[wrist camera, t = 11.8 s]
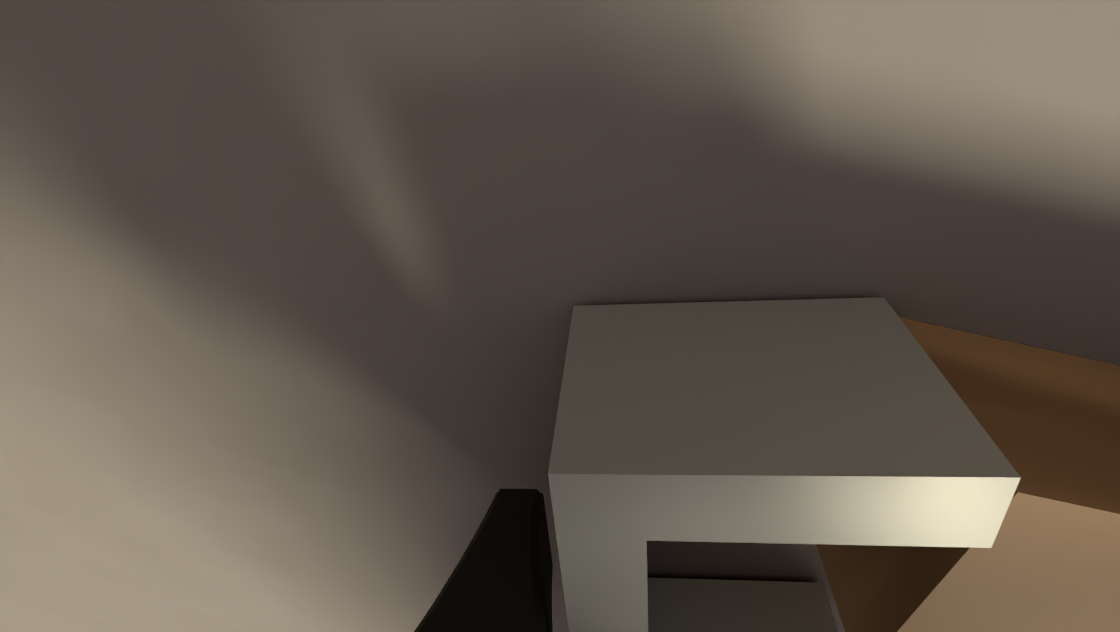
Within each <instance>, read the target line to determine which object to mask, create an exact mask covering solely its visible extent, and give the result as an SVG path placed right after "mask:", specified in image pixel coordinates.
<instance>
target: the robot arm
mask: <svg viewBox="0 0 1120 632" xmlns="http://www.w3.org/2000/svg"><path fill="white" fill-rule="evenodd" d="M552 568H553V564H552V556H551V549H550V542H549V534H548V527H547V520H546V512H545V505H544V497H543V494H542V493H540V492H539V491H538V489H500V490H499V492H498V493H496V495H495V497H494V499H493V501H492V503H491V505H490V507H489V509H488V511H487V513H486V515H485V517H484V519H483V521H482V523H481V524H480V526H479V528H478V530H477V532H476V534H475V535H474V537H473V539H472V541H471V542H470V544H469V546H468V548H467V549H466V551H465V553H464V554H463V556H462V558H461V560H460V561H459V563H458V565H457V566H456V568H455V570H454V571H453V573H452V574H451V576H450V578H449V579H448V581H447V582H446V584H445V586H444V587H443V589H442V590H441V592H440V594H439V595H438V597H437V598H436V600H435V602H434V603H433V605H432V606H431V608H430V609H429V611H428V612H427V614H426V615H425V617H424V618H423V620H422V621H421V623H420V624H419V625H418V627H417V628H416V630H415V631H414V632H552Z"/></svg>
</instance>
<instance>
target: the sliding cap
mask: <svg viewBox="0 0 1120 632" xmlns="http://www.w3.org/2000/svg"><path fill="white" fill-rule="evenodd" d="M548 479H549V486H550V494H551V501H552V509H553V516H554V524H555V532H556V539H557V547H558V554H559V562H560V570H561V577H562V585H563V592H564V600H565V608H566V615H567V623H568V630H569V632H838V631H837V628H836V625H835V622H834V619H833V615H832V612H831V609H830V606H829V603H828V599H827V596H826V593H825V590H824V587H823V584H822V583H817V582H782V581H748V580H713V579H678V578H647V541H686V542H733V543H780V544H828V545H875V546H922V547H969V548H991V547H992V545H993V543H994V540H995V538H996V536H997V533H998V531H999V529H1000V526H1001V524H1002V521H1003V519H1004V517H1005V514H1006V512H1007V510H1008V507H1009V505H1010V502H1011V500H1012V498H1013V495H1014V493H1015V491H1016V488H1017V486H1018V484H1019V481H1020V479H1021V477H1020V476H1019V474H1018V473H1017V472H1016V470H1015V469H1014V468H1013V466H1012V465H1011V464H1010V462H1009V461H1008V460H1007V459H1006V457H1005V456H1004V455H1003V453H1002V452H1001V451H1000V449H999V448H998V447H997V445H996V444H995V443H994V441H993V440H992V439H991V437H990V436H989V435H988V434H987V432H986V431H985V430H984V428H983V427H982V426H981V424H980V423H979V422H978V420H977V419H976V418H975V416H974V415H973V414H972V412H971V411H970V410H969V409H968V407H967V406H966V405H965V403H964V402H963V401H962V399H961V398H960V397H959V395H958V394H957V393H956V391H955V390H954V389H953V387H952V386H951V385H950V384H949V382H948V381H947V380H946V378H945V377H944V376H943V374H942V373H941V372H940V370H939V369H938V368H937V366H936V365H935V364H934V363H933V361H932V360H931V359H930V357H929V356H928V355H927V353H926V352H925V351H924V349H923V348H922V347H921V345H920V344H919V343H918V341H917V340H916V339H915V338H914V336H913V335H912V334H911V332H910V331H909V330H908V328H907V327H906V326H905V324H904V323H903V322H902V320H901V319H900V318H899V316H898V315H897V314H896V313H895V311H894V310H893V309H892V307H891V306H890V305H889V303H888V302H887V301H886V299H885V298H884V297H872V298H836V299H800V300H764V301H727V302H691V303H655V304H619V305H582V306H573V311H572V317H571V324H570V331H569V337H568V344H567V351H566V357H565V364H564V371H563V377H562V384H561V390H560V397H559V404H558V410H557V417H556V424H555V430H554V437H553V443H552V450H551V457H550V463H549V470H548Z"/></svg>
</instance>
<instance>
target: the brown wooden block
mask: <svg viewBox="0 0 1120 632" xmlns="http://www.w3.org/2000/svg"><path fill="white" fill-rule="evenodd" d="M899 318H900V319H901V320H902V322H903V323H904V324H905V326H906V327H907V328H908V330H909V331H910V332H911V334H912V335H913V336H914V338H915V339H916V340H917V341H918V343H919V344H920V345H921V347H922V348H923V349H924V351H925V352H926V353H927V355H928V356H929V357H930V359H931V360H932V361H933V363H934V364H935V365H936V366H937V368H938V369H939V370H940V372H941V373H942V374H943V376H944V377H945V378H946V380H947V381H948V382H949V384H950V385H951V386H952V387H953V389H954V390H955V391H956V393H957V394H958V395H959V397H960V398H961V399H962V401H963V402H964V403H965V405H966V406H967V407H968V409H969V410H970V411H971V412H972V414H973V415H974V416H975V418H976V419H977V420H978V422H979V423H980V424H981V426H982V427H983V428H984V430H985V431H986V432H987V434H988V435H989V436H990V437H991V439H992V440H993V441H994V443H995V444H996V445H997V447H998V448H999V449H1000V451H1001V452H1002V453H1003V455H1004V456H1005V457H1006V459H1007V460H1008V461H1009V462H1010V464H1011V465H1012V466H1013V468H1014V469H1015V470H1016V472H1017V473H1018V474H1019V476H1020V477H1021V479H1020V481H1019V484H1018V486H1017V488H1016V491H1015V493H1014V495H1013V498H1012V500H1011V502H1010V505H1009V507H1008V510H1007V512H1006V514H1005V517H1004V519H1003V521H1002V524H1001V526H1000V529H999V531H998V533H997V536H996V538H995V540H994V543H993V545H992V547H991V548H969V547H922V546H875V545H828V544H817V547H818V550H819V553H820V556H821V559H822V562H823V565H824V568H825V571H826V574H827V577H828V580H829V583H830V586H831V590H832V593H833V596H834V599H835V602H836V605H837V608H838V611H839V614H840V617H841V620H842V623H843V626H844V629H845V632H1120V365H1115V364H1111V363H1106V362H1102V361H1097V360H1092V359H1088V358H1083V357H1079V356H1074V355H1070V354H1065V353H1060V352H1056V351H1051V350H1047V349H1042V348H1038V347H1033V346H1029V345H1024V344H1019V343H1015V342H1010V341H1006V340H1001V339H997V338H992V337H987V336H983V335H978V334H974V333H969V332H965V331H960V330H955V329H951V328H946V327H942V326H937V325H933V324H928V323H923V322H919V321H914V320H910V319H905V318H901V317H899Z"/></svg>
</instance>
